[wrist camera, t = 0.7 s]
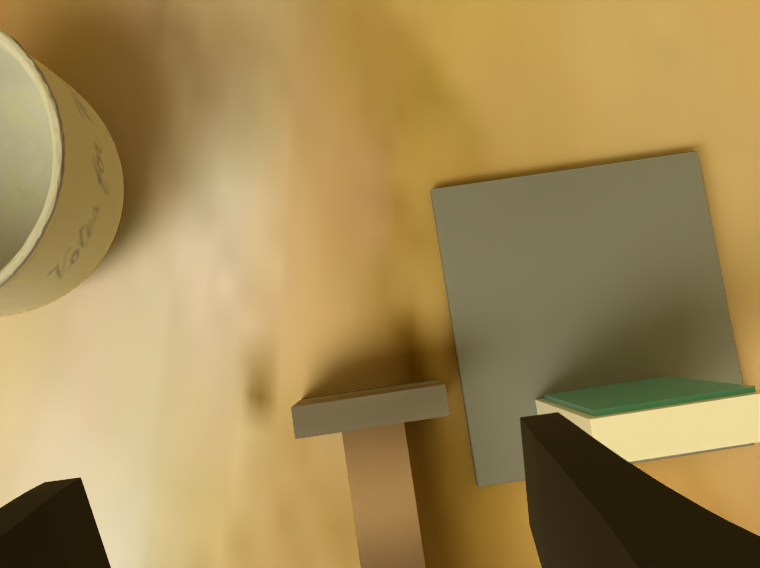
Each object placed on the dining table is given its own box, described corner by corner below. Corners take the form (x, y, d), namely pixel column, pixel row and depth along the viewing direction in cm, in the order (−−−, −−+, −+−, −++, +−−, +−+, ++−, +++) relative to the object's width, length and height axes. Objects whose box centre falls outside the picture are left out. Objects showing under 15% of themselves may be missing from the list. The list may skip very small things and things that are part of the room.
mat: (748, 442, 28) (754, 444, 27) (476, 484, 28) (478, 487, 27) (691, 154, 29) (697, 150, 28) (430, 191, 29) (431, 189, 28)
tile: (678, 414, 27) (781, 438, 20) (541, 435, 27) (597, 466, 20) (671, 374, 28) (770, 385, 21) (534, 395, 27) (588, 413, 20)
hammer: (484, 691, 27) (501, 743, 23) (344, 714, 27) (339, 769, 23) (436, 378, 28) (445, 384, 25) (301, 399, 28) (291, 407, 25)
